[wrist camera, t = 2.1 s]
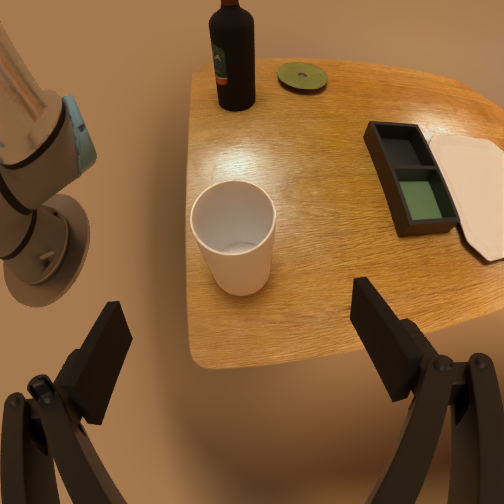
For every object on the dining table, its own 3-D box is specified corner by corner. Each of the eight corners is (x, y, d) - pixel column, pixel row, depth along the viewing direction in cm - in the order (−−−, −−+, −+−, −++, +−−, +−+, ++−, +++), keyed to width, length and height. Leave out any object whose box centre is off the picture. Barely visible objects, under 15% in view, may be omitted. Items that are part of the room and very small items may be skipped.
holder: (398, 237, 44) (409, 224, 40) (363, 137, 52) (369, 121, 48) (447, 232, 45) (461, 221, 40) (409, 139, 52) (417, 124, 48)
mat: (323, 70, 60) (324, 64, 59) (329, 97, 56) (331, 91, 55) (276, 66, 61) (277, 60, 59) (277, 93, 57) (277, 86, 55)
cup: (201, 267, 43) (172, 214, 28) (242, 231, 45) (235, 165, 30) (239, 308, 41) (229, 274, 26) (282, 268, 43) (294, 215, 28)
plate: (468, 269, 42) (475, 264, 40) (414, 138, 52) (418, 131, 50) (541, 248, 43) (547, 245, 41) (495, 145, 53) (499, 140, 51)
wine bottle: (248, 114, 54) (243, -28, 26) (213, 108, 55) (193, -27, 27) (259, 92, 57) (259, -37, 29) (226, 87, 58) (214, -37, 30)
